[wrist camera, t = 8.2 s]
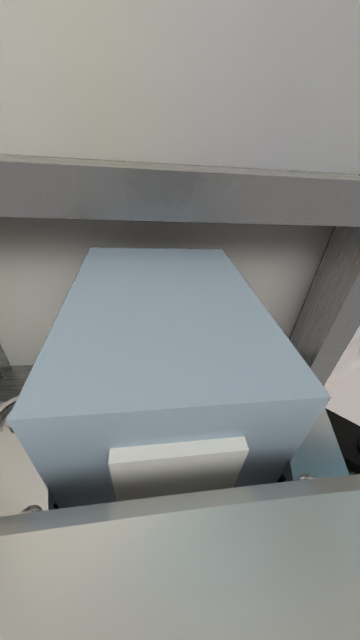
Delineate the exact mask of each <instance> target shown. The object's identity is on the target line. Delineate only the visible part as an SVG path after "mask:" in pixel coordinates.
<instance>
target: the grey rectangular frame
mask: <svg viewBox="0 0 360 640" xmlns="http://www.w3.org/2000/svg"><path fill="white" fill-rule="evenodd" d="M0 217H18V218H55V219H91V220H128V221H165V222H202V223H239V224H276V225H313V226H335V228H334V231H333V233H332V236H331V238H330V241H329V243H328V246H327V248H326V251H325V253H324V256H323V258H322V260H321V263H320V265H319V268H318V270H317V273H316V275H315V278H314V280H313V283H312V285H311V288H310V290H309V292H308V295H307V297H306V300H305V302H304V305H303V307H302V310H301V312H300V315H299V317H298V320H297V322H296V325H295V327H294V329H293V332H292V334H291V337H290V339H289V340H290V342H291V343H292V344H293V346H294V347H295V348H296V350H297V351H298V352H299V354H300V355H301V356H302V358H303V359H304V361H305V362H306V363H307V365H308V366H309V367H310V369H311V370H312V371H313V373H314V374H315V376H316V377H317V378H318V380H319V381H320V382H321V384H322V385H323V386H324V384H325V382H326V381H327V379H328V377H329V376H330V374H331V372H332V371H333V369H334V367H335V366H336V364H337V362H338V361H339V359H340V357H341V355H342V354H343V352H344V350H345V349H346V347H347V345H348V344H349V342H350V340H351V339H352V337H353V335H354V334H355V332H356V330H357V328H358V327H359V325H360V175H352V174H334V173H317V172H300V171H282V170H265V169H247V168H230V167H213V166H195V165H178V164H160V163H143V162H125V161H108V160H91V159H73V158H56V157H38V156H21V155H4V154H0ZM32 368H33V366H13V367H10V365H9V363H8V361H7V358H6V356H5V354H4V352H3V350H2V348H1V346H0V406H1V405H3V404H4V403H5V402H7V401H9V400H10V399H12V398H14V397H17V396H19V395H20V393H21V390H22V388H23V386H24V384H25V382H26V380H27V378H28V376H29V374H30V372H31V370H32Z"/></svg>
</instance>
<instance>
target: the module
mask: <svg viewBox="0 0 360 640" xmlns="http://www.w3.org/2000/svg"><path fill="white" fill-rule="evenodd" d="M330 398H331V396H330V395H329V393H328V392H327V390H326V389H325V388H324V386H323V385H322V384H321V382H320V381H319V380H318V378H317V377H316V376H315V374H314V373H313V371H312V370H311V369H310V367H309V366H308V365H307V363H306V362H305V361H304V359H303V358H302V356H301V355H300V354H299V352H298V351H297V350H296V348H295V347H294V346H293V344H292V343H291V342H290V340H289V339H288V337H287V336H286V335H285V333H284V332H283V331H282V329H281V328H280V327H279V325H278V324H277V322H276V321H275V320H274V318H273V317H272V316H271V314H270V313H269V312H268V310H267V309H266V308H265V306H264V305H263V303H262V302H261V301H260V299H259V298H258V297H257V295H256V294H255V293H254V291H253V290H252V289H251V287H250V286H249V284H248V283H247V282H246V280H245V279H244V278H243V276H242V275H241V274H240V272H239V271H238V269H237V268H236V267H235V265H234V264H233V263H232V261H231V260H230V259H229V257H228V256H227V255H226V253H225V252H224V250H223V249H169V248H90V249H89V251H88V253H87V255H86V257H85V259H84V262H83V264H82V266H81V268H80V270H79V272H78V274H77V276H76V278H75V280H74V282H73V284H72V287H71V289H70V291H69V293H68V295H67V297H66V299H65V301H64V303H63V305H62V307H61V309H60V311H59V314H58V316H57V318H56V320H55V322H54V324H53V326H52V328H51V330H50V332H49V334H48V336H47V338H46V341H45V343H44V345H43V347H42V349H41V351H40V353H39V355H38V357H37V359H36V361H35V363H34V366H33V368H32V370H31V372H30V374H29V376H28V378H27V380H26V382H25V384H24V386H23V388H22V390H21V393H20V395H19V397H18V399H17V401H16V403H15V405H14V407H13V409H12V411H11V413H10V415H9V417H8V420H7V421H8V423H9V425H10V426H11V428H12V430H13V431H14V433H15V435H16V436H17V438H18V440H19V441H20V443H21V445H22V447H23V448H24V450H25V452H26V453H27V455H28V457H29V458H30V460H31V462H32V463H33V465H34V467H35V469H36V470H37V472H38V474H39V475H40V477H41V479H42V480H43V482H44V484H45V485H49V487H50V489H51V491H52V492H53V494H54V501H55V502H56V504H57V506H58V507H59V509H61V508H70V507H78V506H86V505H94V504H102V503H110V502H118V501H126V500H134V499H143V498H151V497H159V496H168V495H176V494H184V493H193V492H201V491H210V490H218V489H227V488H235V487H244V486H253V485H262V484H270V483H277V481H278V479H279V478H280V476H281V475H282V473H283V468H284V467H285V465H286V464H287V462H288V461H289V459H292V458H293V456H294V454H295V453H296V451H297V450H298V448H299V447H300V445H301V444H302V442H303V440H304V439H305V437H306V436H307V434H308V433H309V431H310V429H311V428H312V426H313V425H314V423H315V422H316V420H317V419H318V417H319V415H320V414H321V412H322V411H323V409H324V408H325V406H326V404H327V403H328V401H329V400H330Z"/></svg>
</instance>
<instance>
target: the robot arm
mask: <svg viewBox="0 0 360 640" xmlns="http://www.w3.org/2000/svg"><path fill="white" fill-rule="evenodd" d="M18 397H19V396H17V397H14V398H12V399H10V400H9V401H7V402H5V403H4V404H3V405H1V406H0V640H360V426H358V425H356V424H354V423H352V422H351V421H349V420H347V419H345V418H343V417H341V416H339V415H337V414H335V413H334V412H331V411H330V410H327V409H326V408H324V409H323V411H322V412H321V414H320V415H319V417H318V419H317V420H316V422H315V423H314V425H313V426H312V428H311V429H310V431H309V433H308V434H307V436H306V437H305V439H304V440H303V442H302V444H301V445H300V447H299V448H298V450H297V451H296V453H295V454H294V456H293V458H292V459H289V461H288V462H287V464H286V465H285V467H284V468H283V473H282V475H281V476H280V478H279V479H278V481H277V483H270V484H262V485H253V486H244V487H235V488H227V489H218V490H210V491H201V492H193V493H184V494H176V495H168V496H159V497H151V498H143V499H134V500H126V501H118V502H110V503H102V504H94V505H86V506H78V507H70V508H61V509H59V507H58V506H57V504H56V502H55V501H54V494H53V492H52V491H51V489H50V487H49V485H45V484H44V482H43V480H42V479H41V477H40V475H39V474H38V472H37V470H36V469H35V467H34V465H33V463H32V462H31V460H30V458H29V457H28V455H27V453H26V452H25V450H24V448H23V447H22V445H21V443H20V441H19V440H18V438H17V436H16V435H15V433H14V431H13V430H12V428H11V426H10V425H9V423H8V421H7V420H8V417H9V415H10V413H11V411H12V409H13V407H14V405H15V403H16V401H17V399H18Z"/></svg>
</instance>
